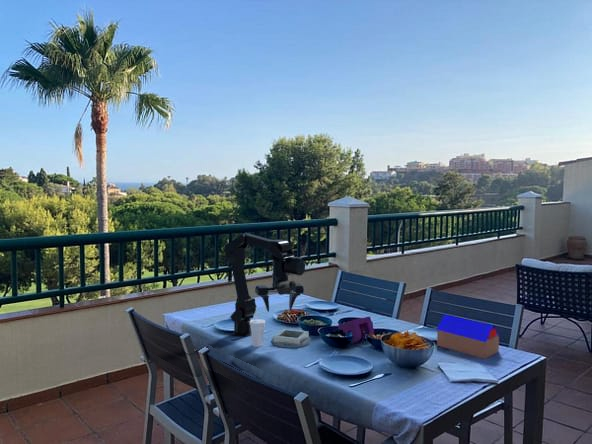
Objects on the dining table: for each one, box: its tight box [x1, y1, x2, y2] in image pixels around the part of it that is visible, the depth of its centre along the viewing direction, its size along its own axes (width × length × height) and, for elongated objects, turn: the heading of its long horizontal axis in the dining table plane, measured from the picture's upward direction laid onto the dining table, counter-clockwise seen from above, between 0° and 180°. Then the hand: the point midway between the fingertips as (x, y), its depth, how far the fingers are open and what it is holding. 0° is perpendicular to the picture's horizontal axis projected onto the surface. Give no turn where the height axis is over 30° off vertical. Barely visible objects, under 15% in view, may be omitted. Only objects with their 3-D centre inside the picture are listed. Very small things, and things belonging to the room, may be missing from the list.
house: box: [436, 313, 501, 360], centre depth 178 cm, size 12×20×12 cm, turn 42°
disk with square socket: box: [271, 328, 312, 349], centre depth 186 cm, size 16×16×3 cm
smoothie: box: [249, 309, 267, 348], centre depth 181 cm, size 6×6×14 cm
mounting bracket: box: [334, 316, 375, 344], centre depth 192 cm, size 9×8×18 cm
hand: (279, 310), depth 183 cm, fingers open, 9 cm apart
